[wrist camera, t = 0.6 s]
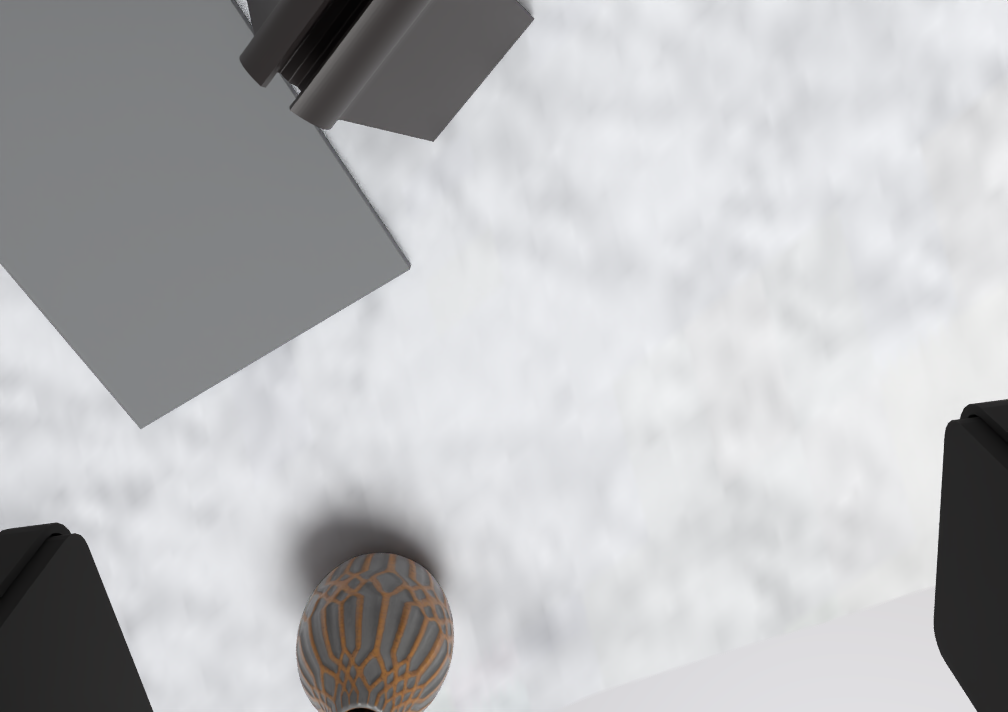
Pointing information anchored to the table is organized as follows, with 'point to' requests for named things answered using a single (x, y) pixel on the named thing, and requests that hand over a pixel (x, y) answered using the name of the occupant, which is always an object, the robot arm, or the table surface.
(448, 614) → the vase
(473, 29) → the phone stand
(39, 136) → the mat
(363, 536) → the table surface
